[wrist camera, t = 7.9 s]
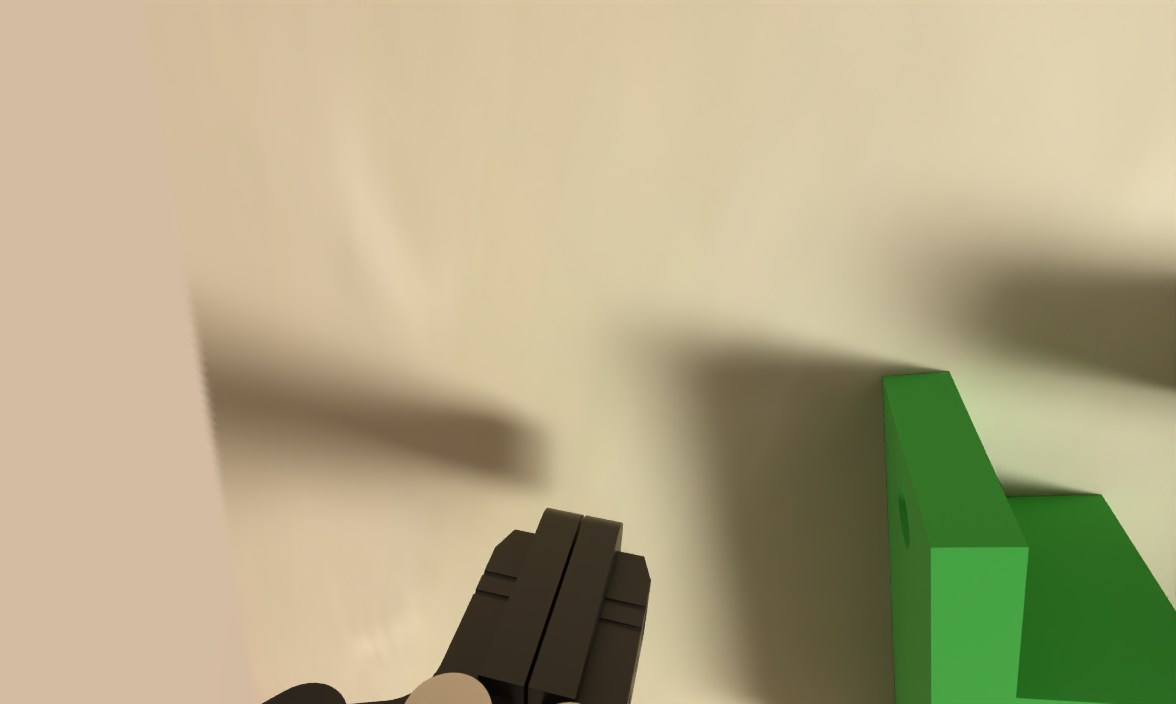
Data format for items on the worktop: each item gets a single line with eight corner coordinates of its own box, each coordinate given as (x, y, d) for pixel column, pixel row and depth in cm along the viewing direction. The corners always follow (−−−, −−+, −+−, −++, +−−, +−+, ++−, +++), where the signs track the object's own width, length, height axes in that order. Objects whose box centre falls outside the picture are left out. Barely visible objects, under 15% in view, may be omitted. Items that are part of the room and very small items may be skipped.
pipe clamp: (1061, 744, 16) (1151, 987, 12) (895, 731, 17) (931, 950, 14) (1119, 351, 11) (1302, 556, 7) (880, 370, 12) (931, 555, 9)
